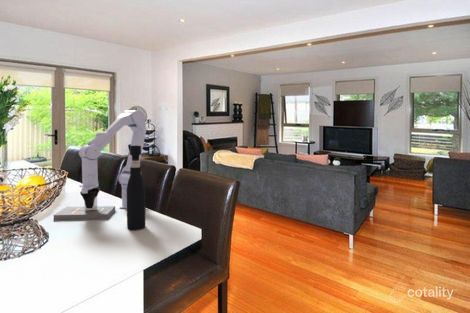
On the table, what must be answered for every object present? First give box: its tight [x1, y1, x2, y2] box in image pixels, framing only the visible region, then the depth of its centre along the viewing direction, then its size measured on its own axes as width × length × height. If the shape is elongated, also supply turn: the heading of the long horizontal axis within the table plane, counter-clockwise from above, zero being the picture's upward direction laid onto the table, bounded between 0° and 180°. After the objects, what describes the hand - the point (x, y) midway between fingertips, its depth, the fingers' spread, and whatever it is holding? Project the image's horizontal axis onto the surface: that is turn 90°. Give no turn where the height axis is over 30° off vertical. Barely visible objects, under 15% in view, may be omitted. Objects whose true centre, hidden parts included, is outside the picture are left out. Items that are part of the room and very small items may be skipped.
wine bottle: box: [126, 145, 146, 231], centre depth 110 cm, size 6×6×30 cm
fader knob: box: [83, 195, 98, 210], centre depth 125 cm, size 4×3×5 cm
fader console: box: [53, 205, 116, 221], centre depth 125 cm, size 20×12×2 cm, turn 98°
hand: (90, 206), depth 125 cm, fingers closed on fader knob, 3 cm apart
